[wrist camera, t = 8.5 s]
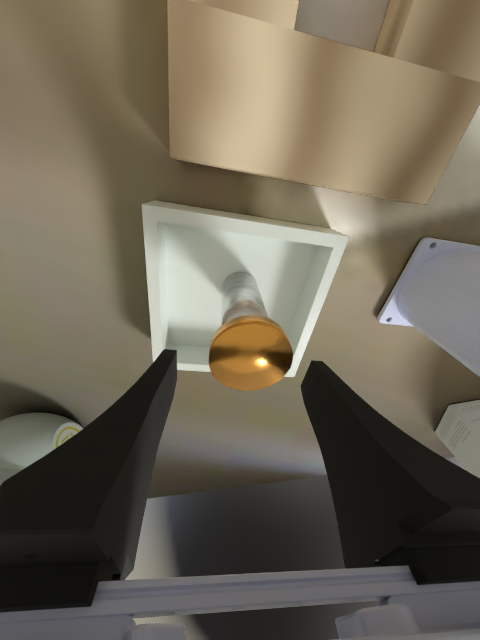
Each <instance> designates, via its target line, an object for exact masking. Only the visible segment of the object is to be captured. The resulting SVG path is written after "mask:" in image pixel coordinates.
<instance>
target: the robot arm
mask: <svg viewBox="0 0 480 640" xmlns="http://www.w3.org/2000/svg"><path fill="white" fill-rule="evenodd" d="M432 243H433V244H432ZM431 244H432V246H431V247H430V245H431ZM387 318H388V319H387ZM377 320H378V321H379V322H380V323H385V324H394V325H404V326H414V327H415V328H417V329H418V330H419V331H420V332H422V333H423V334H424V335H426V336H427V337H428V338H430V339H431V340H432V341H433V342H435V343H436V344H437V345H439V346H440V347H441V348H443V349H444V350H445V351H446V352H448V353H449V354H450V355H452V356H453V357H454V358H456V359H457V360H458V361H460V362H461V363H462V364H463V365H465V366H466V367H467V368H469V369H470V370H471V371H473V372H474V373H475V374H476V375H478V376H479V377H480V246H478V245H472V244H466V243H459V242H453V241H447V240H441V239H435V238H429V237H426V238H423V239H422V240H421V241H420V242H419V244H418V246H417V247H416V249H415V251H414V253H413V254H412V256H411V258H410V260H409V262H408V263H407V265H406V267H405V269H404V271H403V272H402V274H401V276H400V278H399V279H398V281H397V283H396V285H395V287H394V288H393V290H392V292H391V294H390V296H389V297H388V299H387V301H386V303H385V304H384V306H383V308H382V310H381V312H380V313H379V315H378V317H377ZM176 381H177V350H170V349H164V350H163V351H162V352H161V353H160V355H159V356H158V357H157V359H156V360H155V361H154V362H153V364H152V365H151V366H150V367H149V368H148V369H147V371H146V372H145V373H144V374H143V375H142V376H141V377H140V378H139V380H138V381H137V382H136V383H135V384H134V385H133V386H132V387H131V388H130V389H129V390H128V391H127V392H126V393H125V394H124V395H123V396H122V397H121V398H120V399H118V400H117V401H116V402H115V403H114V404H113V405H112V406H111V407H109V408H108V409H107V410H106V411H105V412H104V413H102V414H101V415H100V416H99V417H97V418H96V419H95V420H94V421H93V422H91V423H90V424H89V425H87V426H86V427H85V428H84V429H82V430H81V431H80V432H78V433H77V434H75V435H74V436H73V437H71V438H70V439H68V440H67V441H65V442H64V443H63V444H61V445H60V446H58V447H57V448H55V449H54V450H53V451H51V452H50V453H48V454H47V455H45V456H44V457H42V458H40V459H39V460H37V461H36V462H34V463H32V464H31V465H29V466H28V467H26V468H24V469H23V470H21V471H20V472H18V473H16V474H15V475H13V476H12V477H10V478H8V479H7V480H5V481H4V482H3V483H2V484H1V485H0V640H186V634H185V629H186V628H185V626H184V624H139V625H136V623H135V621H134V620H133V619H132V618H145V617H159V616H172V615H186V614H199V613H213V612H225V611H226V612H227V611H239V610H254V609H267V608H281V607H293V606H308V605H320V604H321V605H322V604H335V603H349V602H363V601H376V600H380V602H379V606H378V607H371V608H365V609H360V610H358V611H357V612H355V613H352V614H350V615H347V616H343V617H339V618H336V622H335V623H336V627H337V630H338V635H339V639H334V640H480V478H478V477H477V476H475V475H473V474H471V473H469V472H468V471H466V470H464V469H462V468H460V467H459V466H457V465H455V464H453V463H451V462H450V461H448V460H446V459H445V458H443V457H441V456H440V455H438V454H437V453H435V452H433V451H432V450H430V449H428V448H427V447H425V446H424V445H422V444H421V443H419V442H418V441H416V440H415V439H413V438H412V437H410V436H409V435H407V434H406V433H405V432H403V431H402V430H400V429H399V428H398V427H396V426H395V425H394V424H392V423H391V422H390V421H388V420H387V419H386V418H384V417H383V416H382V415H381V414H379V413H378V412H377V411H376V410H374V409H373V408H372V407H371V406H370V405H369V404H367V403H366V402H365V401H364V400H363V399H362V398H361V397H359V396H358V395H357V394H356V393H355V392H354V391H353V390H352V389H351V388H350V387H349V386H348V385H347V384H346V383H345V382H343V381H342V380H341V379H340V378H339V377H338V376H337V375H336V374H335V373H334V372H333V371H332V370H331V369H330V368H329V367H328V366H327V365H326V364H325V363H324V362H322V361H311V363H310V366H309V368H308V370H307V373H306V375H305V377H304V379H303V382H302V384H301V391H302V396H303V400H304V404H305V407H306V410H307V413H308V416H309V418H310V421H311V424H312V427H313V429H314V432H315V435H316V438H317V440H318V443H319V446H320V449H321V452H322V456H323V460H324V464H325V468H326V471H327V475H328V480H329V484H330V488H331V493H332V497H333V502H334V507H335V512H336V516H337V522H338V528H339V534H340V540H341V545H342V551H343V558H344V564H345V567H346V569H331V570H313V571H293V572H274V573H256V574H255V573H254V574H235V575H217V576H197V577H179V578H178V577H177V578H159V579H141V580H140V579H139V580H125V579H126V577H127V576H128V575H129V574H130V573H131V572H132V570H133V568H134V562H135V558H136V552H137V547H138V542H139V536H140V531H141V526H142V521H143V516H144V511H145V506H146V501H147V496H148V491H149V486H150V481H151V477H152V472H153V467H154V463H155V458H156V454H157V449H158V446H159V442H160V439H161V435H162V432H163V429H164V426H165V423H166V419H167V416H168V413H169V410H170V407H171V403H172V400H173V396H174V391H175V386H176Z"/></svg>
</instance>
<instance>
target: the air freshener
mask: <svg viewBox="0 0 480 640" xmlns="http://www.w3.org/2000/svg"><path fill="white" fill-rule="evenodd" d="M82 429H83V428H82V427H81V426H80V425H79V424H78V423H77V422H75V421H73V420H71V419H68V418H66V417H63V416H60V415H56V414H50V413H25V414H19V415H15V416H11V417H8V418H6V419H3V420H1V421H0V485H1V484H2V483H3V482H4V481H5V480H7V479H8V478H10V477H12V476H13V475H15V474H16V473H18V472H20V471H21V470H23V469H24V468H26V467H28V466H29V465H31V464H32V463H34V462H36V461H37V460H39V459H40V458H42V457H44V456H45V455H47V454H48V453H50V452H51V451H53V450H54V449H55V448H57V447H58V446H60V445H61V444H63V443H64V442H65V441H67V440H68V439H70V438H71V437H73V436H74V435H75V434H77V433H78V432H80V431H81V430H82Z"/></svg>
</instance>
